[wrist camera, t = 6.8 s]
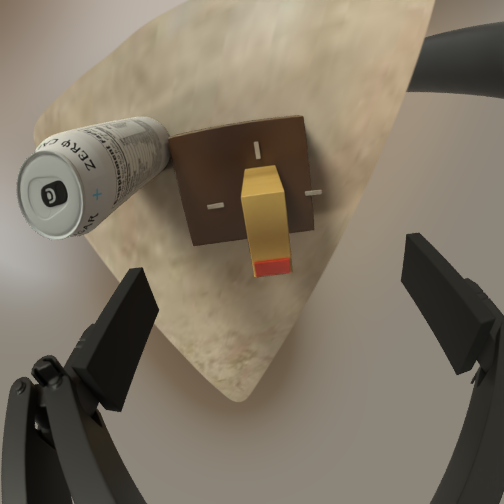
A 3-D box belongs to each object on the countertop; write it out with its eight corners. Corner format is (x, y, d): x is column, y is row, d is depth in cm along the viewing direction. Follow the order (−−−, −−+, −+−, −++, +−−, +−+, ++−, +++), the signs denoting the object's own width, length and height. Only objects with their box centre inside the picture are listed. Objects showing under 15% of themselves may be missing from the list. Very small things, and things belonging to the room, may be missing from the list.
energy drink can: (110, 126, 24) (-1, 160, 10) (167, 108, 23) (75, 120, 10) (124, 183, 26) (32, 257, 13) (180, 170, 26) (109, 241, 13)
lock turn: (244, 169, 23) (240, 197, 16) (275, 164, 23) (285, 191, 16) (254, 230, 26) (254, 280, 19) (282, 226, 25) (293, 275, 19)
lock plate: (307, 114, 23) (314, 115, 21) (317, 229, 29) (324, 243, 26) (176, 134, 24) (166, 138, 22) (201, 244, 30) (196, 260, 27)
